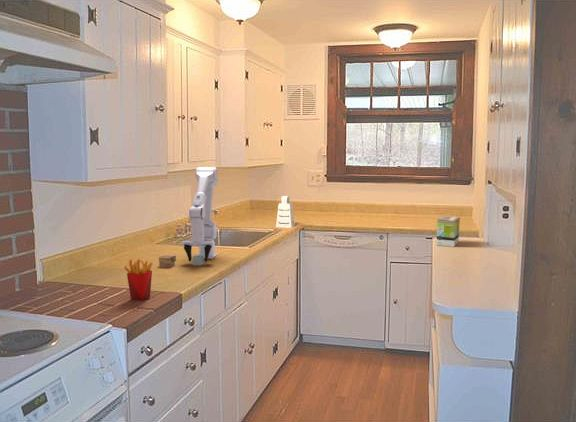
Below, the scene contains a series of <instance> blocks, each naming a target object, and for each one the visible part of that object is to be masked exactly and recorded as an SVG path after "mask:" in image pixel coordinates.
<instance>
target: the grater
mask: <svg viewBox="0 0 576 422" xmlns="http://www.w3.org/2000/svg"><path fill="white" fill-rule="evenodd" d="M293 206H294V205H293V202H291V201H290V195H282V196H281V202H278V205H277V215H276V223H275V228H287V229H289V228H290V229H292V228H293V227H295V226H296V223H295V215H294V207H293Z"/></svg>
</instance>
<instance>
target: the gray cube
mask: <svg viewBox="0 0 576 422" xmlns="http://www.w3.org/2000/svg"><path fill="white" fill-rule="evenodd" d="M204 264H205V259H204V256H203V255H199V254H195V255H193V256H192V266H203V265H204Z"/></svg>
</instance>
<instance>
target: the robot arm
mask: <svg viewBox="0 0 576 422" xmlns="http://www.w3.org/2000/svg"><path fill="white" fill-rule="evenodd" d="M195 169H196V170H195V178H196V181H197V182H198V185H197V191H196V193H195V194H194V196H193V201H192V205H191V207H189V210H188V216H189V223H190V229H191V230H190V231H191V232H190V233H191V236H190V237H191V240H183V241H181V247H182V246H183V249H184V251H185V254H186V256H187V260H188V262H191V261H193V256H192V247H194V246H195V247H198V255H203V256H204V263H207V262H208V260H209V259H211V260H213V259H214V258H215V257H216V256H217V255H218V254H217V253H216V246H215V245H216V243H215V241H214V240H215V239H216V238H217V236H218V235H217V234H218V229H217V223H216V222H215V221H214V220H213V219H212V216H213V215H212V214H213V211H212V210H213V195H214V188H215V186H217V185H218V177H219V176H218V175H219V173H218V168H217V167H215V166H214V167H199V166H198V167H197V168H195Z"/></svg>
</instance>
